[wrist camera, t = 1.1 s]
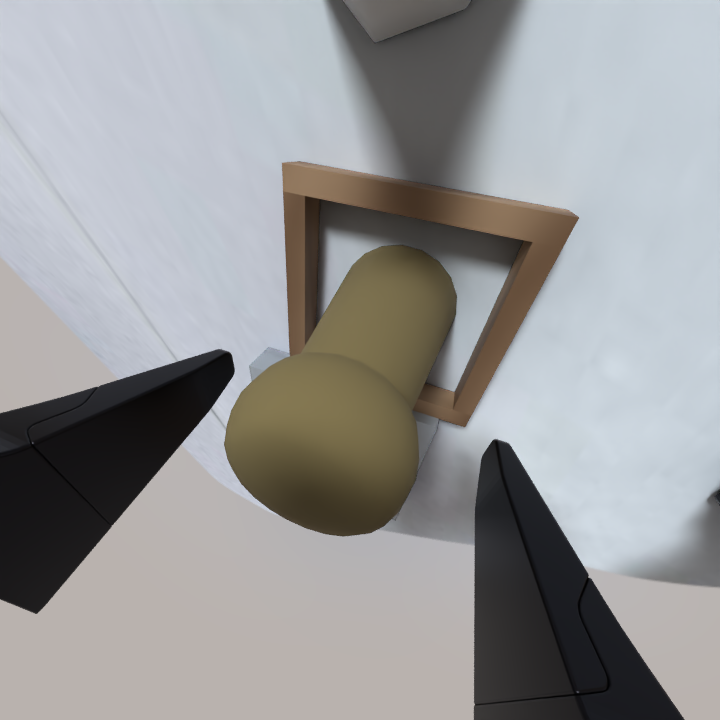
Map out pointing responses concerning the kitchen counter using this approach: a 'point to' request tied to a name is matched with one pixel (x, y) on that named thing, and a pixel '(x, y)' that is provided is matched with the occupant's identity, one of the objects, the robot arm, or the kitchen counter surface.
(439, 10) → the flask
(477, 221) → the wooden picture frame
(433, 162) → the kitchen counter surface
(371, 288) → the cork
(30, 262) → the kitchen counter surface
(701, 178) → the kitchen counter surface
